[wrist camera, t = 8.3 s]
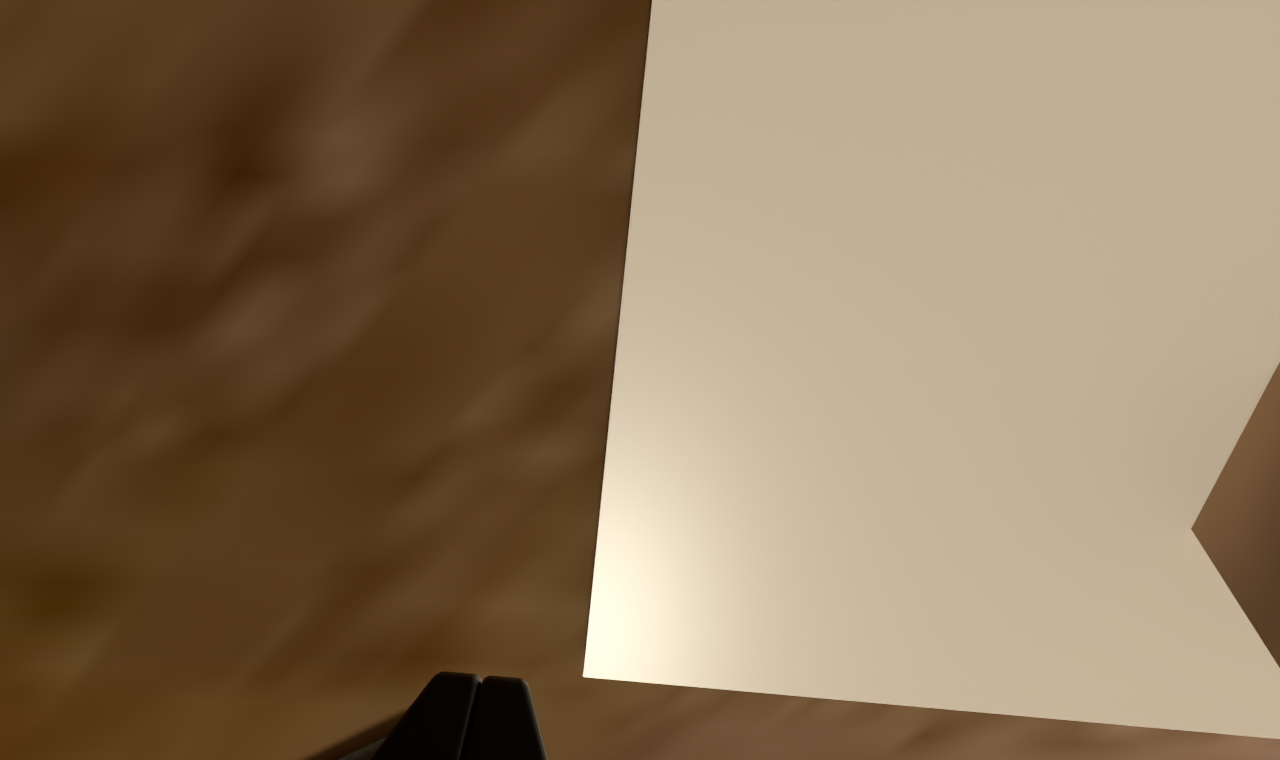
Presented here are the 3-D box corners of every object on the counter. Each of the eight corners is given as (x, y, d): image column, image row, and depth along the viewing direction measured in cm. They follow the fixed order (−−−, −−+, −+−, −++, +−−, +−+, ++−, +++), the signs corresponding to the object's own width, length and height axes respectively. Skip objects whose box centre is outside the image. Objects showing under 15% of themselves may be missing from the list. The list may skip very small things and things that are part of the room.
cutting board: (584, 658, 27) (583, 676, 26) (659, -79, 17) (659, -73, 16) (1395, 731, 27) (1409, 750, 27) (1926, 64, 17) (1963, 74, 17)
